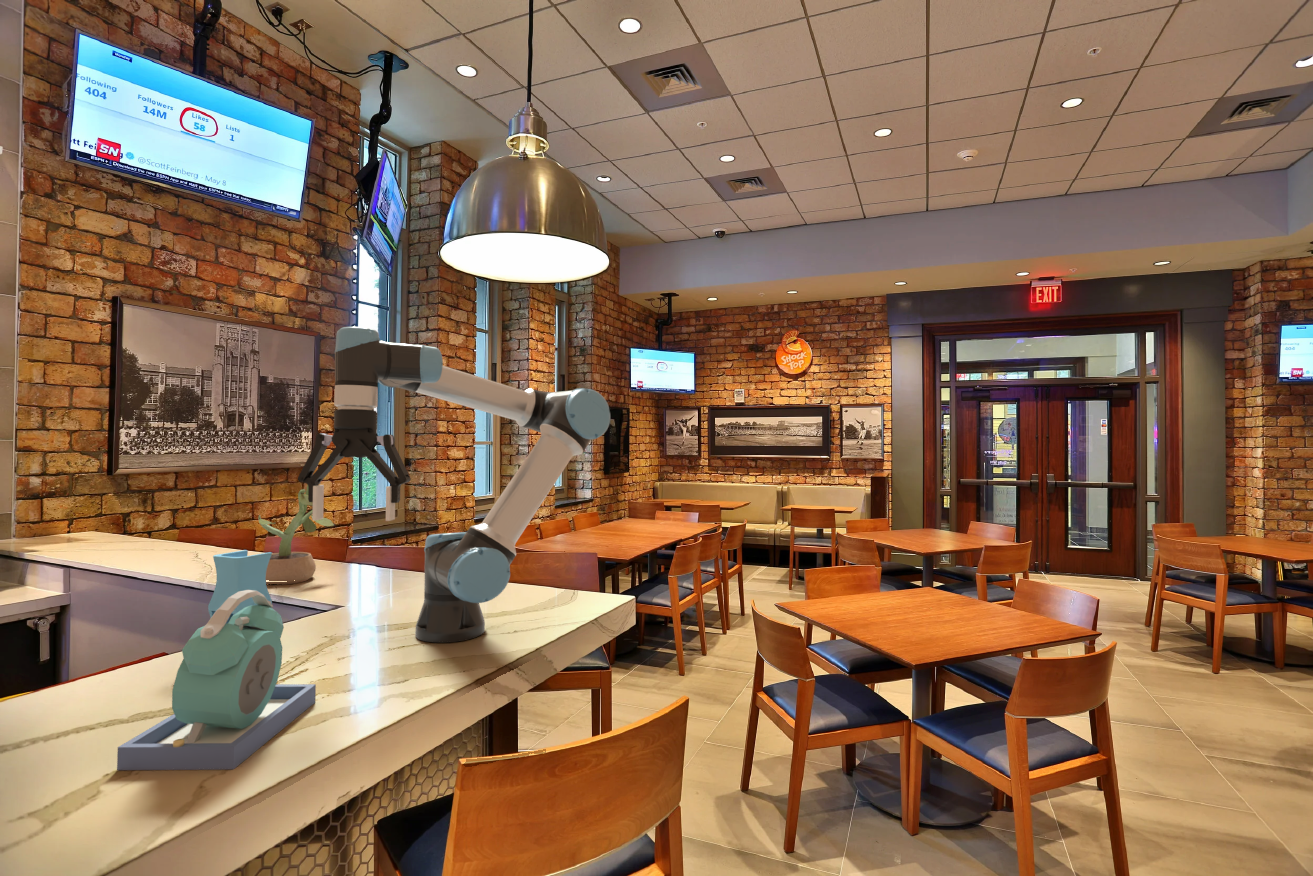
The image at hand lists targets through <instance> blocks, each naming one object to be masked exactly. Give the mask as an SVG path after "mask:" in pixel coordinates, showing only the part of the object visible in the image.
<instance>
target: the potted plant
mask: <svg viewBox="0 0 1313 876" xmlns="http://www.w3.org/2000/svg"><path fill="white" fill-rule="evenodd" d="M297 499H298V512H297V513H296V515H295V516H294V517H293V518H292V519H291V522H290V524H288V526H287V527H286V529H285V530H284V532H283V531H281V530H280V529H278V528H275V527H273V526H271V525H275V524H277V523H276V522H277V521H276V522H271V521H269V520H266V519H263V518H261V514H259V515H258V517H257V519H258V523H259V524H260V526H261V527H262V528H263V529H265V530H266V532H269V533H270V534H272V535H276V536H278V537H280V538H281V540H280V542H279V547H278V552H274V553H273V552H272V555H271V558H270V560H269V563H268V566H267V570H266V577H265V578H266V580H269V581H287V582H266V584H282V585H291V584H292V585H293V584H299V583H303V582H306V581H308V580H309V579H311V578H312V577H313V576H314V574H315V572H316V569H317V568H316V566H317V565H316V563H315V560H314V558H313V555H312V554H311V552H306V551H305V552H304V551H292V541H293V539H294V536H295V532H296V530H297V529H298V528H299V527H300V526H301V525H302V527H303V529H304V533H305V534H307V533H314V532H315V531H316V529H318V528H317V524H319V525H321V526H324V527H334V526H336V524H335V523H334V522H333V521H332V520H331V519H329V518H326V517H323V519H320V520H312V516H313V509H311V510H310V511H309V512H308V513H306V512H307V509H308V506H310V507H313V502H309V500H308V485H307V484H306V489H304V488H303V489H300V490H299V491H298V493H297ZM310 517H311V518H310ZM315 523H316V524H315ZM294 580H295V581H294Z"/></svg>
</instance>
